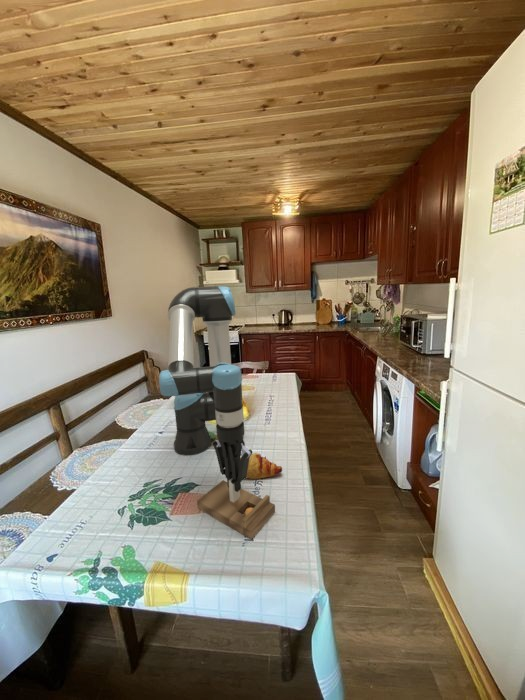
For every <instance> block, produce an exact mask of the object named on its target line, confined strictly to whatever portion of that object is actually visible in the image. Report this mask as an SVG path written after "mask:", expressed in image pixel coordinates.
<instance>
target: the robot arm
mask: <svg viewBox="0 0 525 700" xmlns="http://www.w3.org/2000/svg"><path fill="white" fill-rule="evenodd" d="M168 305H169V306H168V308H167V318H168V320H169V321H170V322H169V323H170V324H169V328H170V329H169V344H168V359H167V360H168V361H167V363H168V364H167V365H168V366H167V369H165V370H161V371H160V372H159V377H158V384H159V385H158V386H159V391H160V394H161V395H162V396H164V397H174V400H173V404H174V405H173V409H174V414H175V415H174V417H175V424H176V425H175V426H176V427H175V428H176V434H175V439H174V443H173V448H174V451H175V453H176V454H178V455H179V454H180V455H183V456H193V455H198V454H200V453H203V452H205V451H207V450H208V449H209V448H210V447H211V445H212V446H213V448H214V450H215V453H216V454H215V455H216V459H217V462H218V466H219V470H220V474H221V475H222V476H225V478H226V480H227V481H226V482H227V484H228V488H229V494H230V501H231V502H233V503H234V502H235V501H236V500H238V499H239V498H240V489H242V482H243V481H244V480H245V479H247V478H246V476H247V470H248V464H249V458H250V456H251V454H253V450H252V449H248V448H247V447H246V445H245V444H246V443H245V441H244V436H245V422H244V421H245V420H244V419H245V418H244V417H245V416H244V405H243V383H242V381H243V377H242V372H241V367H239V366H238V365H235V364H232V354H231V343H230V328H229V327H230V326H229V325H230V324H231V322H232V321H233V317H234V316H236V306H235V300H234V297H233V292H232V290H231V288H230V287H229V286H224V285H223V286H218V285H217V286H201V287H200V286H199V287H198V286H197V287H195V286H193V287H187V288H185V289H183V290H181V291H179V292H178V293H177V294H176V295H175V296H174V297H173V298H172V300H171V301H170V303H169V304H168ZM195 318H198V319H199V318H202V323H203V324H204V325H205V326H206V330H207V345H208V356H209V366H202V367H195V363H194V361H195V360H194V331H193V329H194V327H193V322H194V321H195ZM175 396H176V397H175ZM210 421H215V423H216V425H215V426H216V437H217V439H216V440H214V441H212V437H211V435H210V432H209V430H208V428H207V425H206V422H210ZM240 457H241V460H240Z"/></svg>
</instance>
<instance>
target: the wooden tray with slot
mask: <svg viewBox="0 0 525 700" xmlns="http://www.w3.org/2000/svg"><path fill="white" fill-rule="evenodd" d="M270 500H271V499H270V495H269V494H266V495H265V496H264V497H263V498H262V497H259V496H257V495H256V494H254V493H251V492H249V491H247V490H245V489H243V488H241V489H240V498H239V499H238V500H236V501H235V502H234V503H233V502H231V501H230V494H229V488H228V484H227V481H225V480H222V481H220V482H219V483H218V484H216V485H215V486H214V487H212V488H211V489H210V490H209V491H207V492H206V493H205V494H203V495H202V496H201V497H200V498H199V499H197V500H196V501H197V502H196V503H197V504H196V505H197V509H199V510H200V511H201V512H203V513H206V514H207V515H209V516H210V517H212V518H214V519H216V520H217V521H219V522H221V524H224V525H226V526H228V527H229V528H231V529H232V530H234V531H236V532H238V533H240V534H242V535H243V536H245V537H246V538H248V539H249V540H252V539H254V537H255V536H256V535H257V534H258V533H259V531H260V530H261V529H262V528H263V527H264V526H265V524H266V523H267V522H268V521H269V520H270V519H271V517H272V516H273V515H274V514H275V513H276V508H275V507H276V505H275V503H272V502H271V501H270ZM247 508H253V509H252V510H251V511H250V512H249V513H248V515H247V516H245V511H246V509H247Z"/></svg>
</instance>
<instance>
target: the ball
mask: <svg viewBox="0 0 525 700" xmlns="http://www.w3.org/2000/svg"><path fill="white" fill-rule="evenodd" d="M252 509H253V508H247V509H246V511H245V512H244V515H245V516H247V515H248V513H249V512H250V511H251V510H252Z"/></svg>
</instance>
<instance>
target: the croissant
mask: <svg viewBox="0 0 525 700" xmlns="http://www.w3.org/2000/svg"><path fill="white" fill-rule="evenodd" d="M240 460H241V456H240ZM282 472H283V467H282V466H281V465H277V464H276V463H275V462H272V461H269V460H268V458H267V457H264V456H261V454H260V453H257V452H255V453H252V454H251V456H250V458H249V464H248V470H247V476H246V478H245V479H250V480H251V479H252V480H258V479H262V478H270V477H275V476H277V475H279V474H280V473H282Z"/></svg>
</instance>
